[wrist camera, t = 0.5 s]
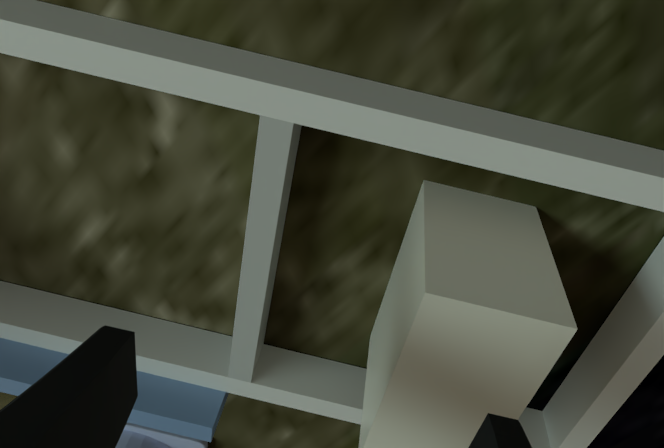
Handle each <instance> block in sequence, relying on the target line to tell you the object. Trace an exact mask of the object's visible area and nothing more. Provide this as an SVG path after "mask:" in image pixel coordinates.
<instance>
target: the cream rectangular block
mask: <svg viewBox="0 0 664 448" xmlns="http://www.w3.org/2000/svg"><path fill="white" fill-rule="evenodd" d="M577 330H578V329H577V326H576V323H575V320H574V317H573V314H572V311H571V308H570V305H569V302H568V299H567V296H566V293H565V290H564V288H563V285H562V282H561V279H560V276H559V273H558V270H557V267H556V264H555V261H554V258H553V255H552V252H551V250H550V247H549V244H548V241H547V238H546V235H545V232H544V229H543V226H542V223H541V220H540V217H539V214H538V212H537V209H536V207H534V206H530V205H526V204H522V203H518V202H514V201H509V200H505V199H501V198H497V197H493V196H489V195H484V194H480V193H476V192H472V191H468V190H464V189H459V188H455V187H451V186H447V185H443V184H439V183H434V182H430V181H426V180H424V181H423V183H422V186H421V189H420V192H419V195H418V198H417V201H416V204H415V207H414V210H413V213H412V216H411V219H410V222H409V224H408V227H407V230H406V233H405V236H404V239H403V242H402V245H401V248H400V251H399V254H398V257H397V260H396V263H395V265H394V268H393V271H392V274H391V277H390V280H389V283H388V286H387V289H386V292H385V295H384V298H383V301H382V304H381V306H380V309H379V312H378V315H377V318H376V321H375V324H374V327H373V330H372V333H371V336H370V344H369V353H368V363H367V372H366V382H365V391H364V401H363V411H362V420H361V430H360V439H359V448H468V447H469V446H470V444H471V442H472V440H473V439H474V437H475V435H476V433H477V432H478V430H479V428H480V426H481V425H482V423H483V421H484V419H485V418H486V416H487V414H488V413H490V414H495V415H499V416H503V417H508V418H512V419H516V420H518V419H519V417H520V416H521V414H522V413H523V411H524V410H525V408H526V407H527V405H528V404H529V402H530V400H531V399H532V397H533V396H534V394H535V393H536V391H537V390H538V388H539V387H540V385H541V384H542V382H543V381H544V379H545V378H546V376H547V375H548V373H549V372H550V370H551V369H552V367H553V366H554V364H555V363H556V361H557V360H558V358H559V357H560V355H561V354H562V352H563V351H564V349H565V348H566V346H567V345H568V343H569V342H570V340H571V339H572V337H573V336H574V334H575V333H576V331H577Z"/></svg>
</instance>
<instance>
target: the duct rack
mask: <svg viewBox="0 0 664 448" xmlns="http://www.w3.org/2000/svg"><path fill="white" fill-rule="evenodd" d="M0 53H3V54H7V55H12V56H16V57H20V58H24V59H28V60H32V61H37V62H41V63H45V64H49V65H53V66H57V67H62V68H66V69H70V70H74V71H78V72H82V73H87V74H91V75H95V76H99V77H103V78H107V79H112V80H116V81H120V82H124V83H128V84H132V85H137V86H141V87H145V88H149V89H153V90H157V91H162V92H166V93H170V94H174V95H178V96H183V97H187V98H191V99H195V100H199V101H203V102H208V103H212V104H216V105H220V106H224V107H228V108H233V109H237V110H241V111H245V112H249V113H253V114H258V115H260V121H259V129H258V137H257V145H256V153H255V161H254V169H253V177H252V185H251V193H250V201H249V209H248V217H247V226H246V234H245V242H244V250H243V258H242V266H241V274H240V282H239V290H238V298H237V306H236V314H235V322H234V330H233V337H232V336H228V335H224V334H220V333H216V332H211V331H207V330H203V329H199V328H195V327H191V326H186V325H182V324H178V323H174V322H170V321H166V320H161V319H157V318H153V317H149V316H145V315H141V314H137V313H132V312H128V311H124V310H120V309H116V308H112V307H107V306H103V305H99V304H95V303H91V302H87V301H83V300H78V299H74V298H70V297H66V296H62V295H58V294H53V293H49V292H45V291H41V290H37V289H33V288H29V287H24V286H20V285H16V284H12V283H8V282H4V281H0V392H4V393H8V394H12V395H16V396H19V395H20V394H21V393H23V392H24V391H25V390H27V389H28V388H29V387H30V386H32V385H33V384H34V383H35V382H37V381H38V380H39V379H40V378H42V377H43V376H44V375H45V374H46V373H48V372H49V371H50V370H51V369H53V368H54V367H55V366H56V365H57V364H59V363H60V362H61V361H62V360H63V359H64V358H66V357H67V356H68V355H69V354H70V353H72V352H73V351H74V350H75V349H76V348H77V347H79V346H80V345H81V344H82V343H83V342H84V341H86V340H87V339H88V338H89V337H90V336H91V335H92V334H94V333H95V332H96V331H97V330H98V329H99V328H101V327H103V326H105V325H106V326H111V327H115V328H119V329H124V330H128V331H132V332H135V349H136V369H137V389H138V397H137V399H136V402H135V404H134V406H133V409H132V411H131V414H130V416H129V418H128V421H127V422H128V423H132V424H137V425H141V426H145V427H149V428H153V429H157V430H161V431H166V432H170V433H174V434H178V435H182V436H186V437H191V438H195V439H199V440H203V441H207V442H211V441H212V438H213V435H214V433H215V430H216V427H217V424H218V421H219V419H220V416H221V413H222V410H223V408H224V405H225V402H226V399H227V397H228V394H229V393H232V394H236V395H240V396H245V397H249V398H253V399H257V400H261V401H265V402H269V403H274V404H278V405H282V406H286V407H290V408H294V409H299V410H303V411H307V412H311V413H315V414H319V415H323V416H328V417H332V418H336V419H340V420H344V421H348V422H353V423H357V424H361V420H362V411H363V401H364V391H365V382H366V372H367V369H365V368H361V367H357V366H353V365H348V364H344V363H340V362H336V361H332V360H328V359H324V358H319V357H315V356H311V355H307V354H303V353H299V352H294V351H290V350H286V349H282V348H278V347H274V346H270V345H265V344H264V338H265V332H266V327H267V321H268V315H269V309H270V304H271V298H272V292H273V287H274V281H275V275H276V269H277V264H278V258H279V252H280V247H281V241H282V235H283V229H284V224H285V218H286V212H287V206H288V201H289V195H290V189H291V184H292V178H293V172H294V166H295V161H296V155H297V149H298V144H299V138H300V132H301V126H302V125H303V126H308V127H312V128H316V129H320V130H324V131H329V132H333V133H337V134H341V135H345V136H349V137H354V138H358V139H362V140H366V141H370V142H374V143H379V144H383V145H387V146H391V147H395V148H399V149H404V150H408V151H412V152H416V153H420V154H424V155H429V156H433V157H437V158H441V159H445V160H449V161H454V162H458V163H462V164H466V165H470V166H474V167H479V168H483V169H487V170H491V171H495V172H500V173H504V174H508V175H512V176H516V177H520V178H525V179H529V180H533V181H537V182H541V183H545V184H550V185H554V186H558V187H562V188H566V189H570V190H575V191H579V192H583V193H587V194H591V195H595V196H600V197H604V198H608V199H612V200H616V201H620V202H625V203H629V204H633V205H637V206H641V207H645V208H650V209H654V210H658V211H662V212H664V151H663V150H659V149H655V148H650V147H646V146H642V145H638V144H634V143H630V142H625V141H621V140H617V139H613V138H609V137H605V136H600V135H596V134H592V133H588V132H584V131H579V130H575V129H571V128H567V127H563V126H559V125H554V124H550V123H546V122H542V121H538V120H534V119H529V118H525V117H521V116H517V115H513V114H509V113H504V112H500V111H496V110H492V109H488V108H483V107H479V106H475V105H471V104H467V103H463V102H458V101H454V100H450V99H446V98H442V97H438V96H433V95H429V94H425V93H421V92H417V91H412V90H408V89H404V88H400V87H396V86H392V85H387V84H383V83H379V82H375V81H371V80H367V79H362V78H358V77H354V76H350V75H346V74H342V73H337V72H333V71H329V70H325V69H321V68H316V67H312V66H308V65H304V64H300V63H296V62H291V61H287V60H283V59H279V58H275V57H271V56H266V55H262V54H258V53H254V52H250V51H245V50H241V49H237V48H233V47H229V46H225V45H220V44H216V43H212V42H208V41H204V40H200V39H195V38H191V37H187V36H183V35H179V34H175V33H170V32H166V31H162V30H158V29H154V28H149V27H145V26H141V25H137V24H133V23H129V22H124V21H120V20H116V19H112V18H108V17H104V16H99V15H95V14H91V13H87V12H83V11H79V10H74V9H70V8H66V7H62V6H58V5H53V4H49V3H45V2H41V1H37V0H0ZM663 355H664V237H663V238H662V240H661V241H660V243H659V244H658V246H657V247H656V248H655V250H654V251H653V253H652V254H651V256H650V257H649V259H648V260H647V261H646V263H645V264H644V266H643V267H642V269H641V270H640V271H639V273H638V274H637V276H636V277H635V279H634V280H633V282H632V283H631V284H630V286H629V287H628V289H627V290H626V292H625V293H624V295H623V296H622V297H621V299H620V300H619V302H618V303H617V305H616V306H615V307H614V309H613V310H612V312H611V313H610V315H609V316H608V318H607V319H606V320H605V322H604V323H603V325H602V326H601V328H600V329H599V330H598V332H597V333H596V335H595V336H594V338H593V339H592V341H591V342H590V343H589V345H588V346H587V348H586V349H585V351H584V352H583V353H582V355H581V356H580V358H579V359H578V361H577V362H576V364H575V365H574V366H573V368H572V369H571V371H570V372H569V374H568V375H567V376H566V378H565V379H564V381H563V382H562V384H561V385H560V387H559V388H558V389H557V391H556V392H555V394H554V395H553V397H552V398H551V399H550V401H549V402H548V404H547V405H546V407H545V408H544V410H543V411H540V410H535V409H531V408H527V407H526V408H525V410H524V411H523V413H522V414H521V416H520V417H519V419H518V420H519V422H520V424H521V425H522V427H523V429H524V432H525V434H526V436H527V438H528V440H529V442H530V444H531V446H532V448H587V447H588V446H589V444H590V443H591V442H592V441H593V439H594V438H595V437H596V436H597V435H598V433H599V432H600V431H601V430H602V429H603V427H604V426H605V425H606V424H607V423H608V421H609V420H610V419H611V418H612V417H613V415H614V414H615V413H616V412H617V411H618V409H619V408H620V407H621V406H622V404H623V403H624V402H625V401H626V400H627V398H628V397H629V396H630V395H631V394H632V392H633V391H634V390H635V389H636V388H637V386H638V385H639V384H640V383H641V382H642V380H643V379H644V378H645V377H646V376H647V374H648V373H649V372H650V371H651V370H652V368H653V367H654V366H655V365H656V363H657V362H658V361H659V360H660V359H661V357H662V356H663Z"/></svg>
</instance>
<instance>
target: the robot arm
mask: <svg viewBox="0 0 664 448" xmlns="http://www.w3.org/2000/svg"><path fill="white" fill-rule="evenodd" d="M137 397H138V389H137V369H136V349H135V332H132V331H128V330H124V329H119V328H115V327H111V326H106V325H105V326H103V327H101V328H99V329H98V330H97V331H96V332H95V333H94V334H92V335H91V336H90V337H89V338H88V339H87V340H86V341H84V342H83V343H82V344H81V345H80V346H79V347H77V348H76V349H75V350H74V351H73V352H72V353H70V354H69V355H68V356H67V357H66V358H64V359H63V360H62V361H61V362H60V363H59V364H57V365H56V366H55V367H54V368H53V369H51V370H50V371H49V372H48V373H46V374H45V375H44V376H43V377H42V378H40V379H39V380H38V381H37V382H35V383H34V384H33V385H32V386H30V387H29V388H28V389H27V390H25V391H24V392H23V393H21V394H20V395H19V396H18V397H16V398H15V399H14V400H13V401H11V402H10V403H9V404H8V405H6V406H5V407H4V408H2V409H1V410H0V448H208V442H207V441H203V440H199V439H195V438H191V437H186V436H182V435H178V434H174V433H170V432H166V431H161V430H157V429H153V428H149V427H145V426H141V425H137V424H132V423H128V422H127V421H128V418H129V416H130V414H131V411H132V409H133V406H134V404H135V402H136V399H137ZM468 448H532V446H531V444H530V442H529V440H528V438H527V436H526V434H525V432H524V429H523V427H522V425H521V424H520V422H519V420H516V419H512V418H508V417H503V416H499V415H495V414H490V413H488V414H487V416H486V418H485V419H484V421H483V423H482V425H481V426H480V428H479V430H478V432H477V433H476V435H475V437H474V439H473V440H472V442H471V444H470V446H469V447H468Z"/></svg>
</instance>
